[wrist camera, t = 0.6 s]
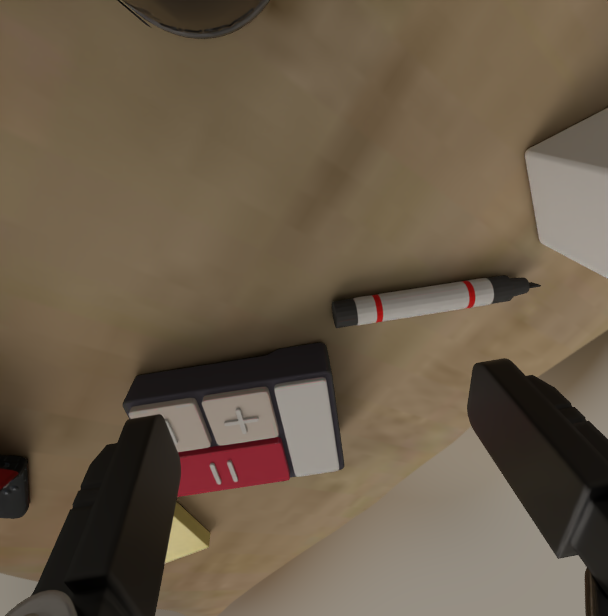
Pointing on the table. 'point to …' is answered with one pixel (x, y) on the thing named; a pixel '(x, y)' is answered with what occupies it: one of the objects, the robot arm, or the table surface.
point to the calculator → (246, 418)
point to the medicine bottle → (573, 191)
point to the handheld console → (13, 487)
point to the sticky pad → (185, 535)
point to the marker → (427, 300)
